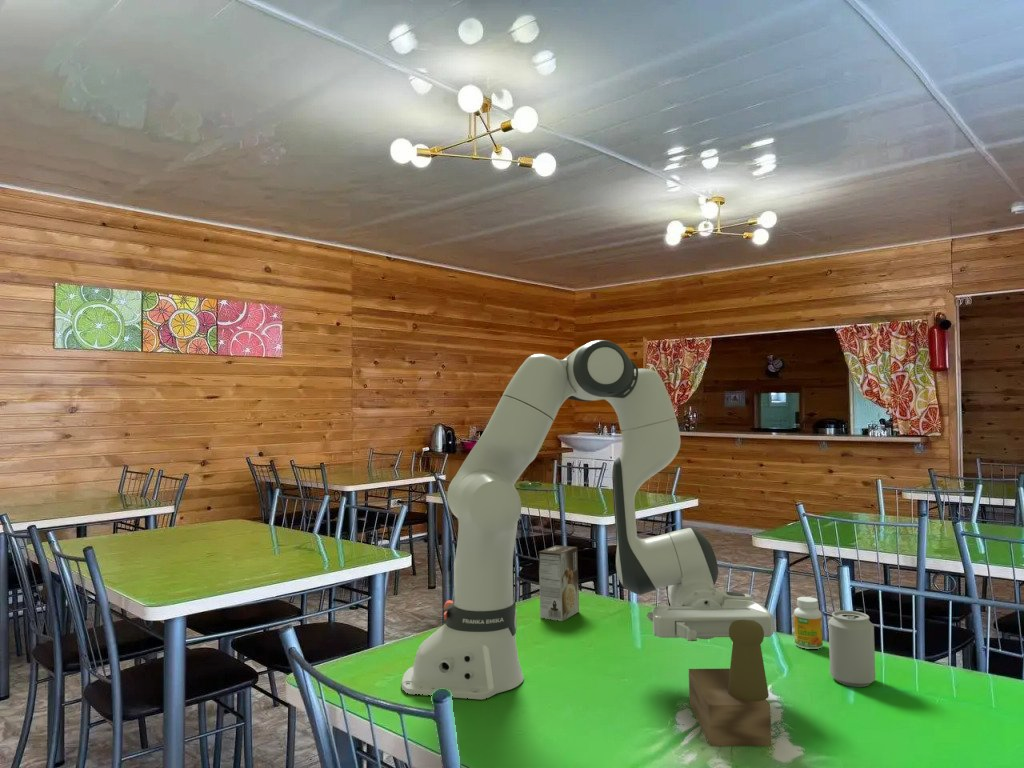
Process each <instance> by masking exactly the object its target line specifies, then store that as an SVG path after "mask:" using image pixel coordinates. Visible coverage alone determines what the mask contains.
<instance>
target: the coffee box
mask: <svg viewBox="0 0 1024 768" xmlns="http://www.w3.org/2000/svg"><path fill="white" fill-rule="evenodd" d="M578 554H579V553H578V546H570V545H569V546H568V545H567V546H566V545H553V546H551V547H547V548H545V549H543V550H539V551H538V575H539V576H538V577H539V581H538V583H539V611H540V612H539V614H540V618H541V619H543V618H545V620H550V619H551V620H550V621H557V620H558V622H564V621H566V620H567V619H569V618H571V617H573V616H574V615H575V614H577V613H579V612H580V594H579V592H580V591H579V590H580V589H579V587H580V586H579V561H578Z"/></svg>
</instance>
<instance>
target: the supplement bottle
mask: <svg viewBox="0 0 1024 768" xmlns="http://www.w3.org/2000/svg"><path fill="white" fill-rule="evenodd" d="M796 601H797V602H796V604H797V606H798V607H796V608H795V609H794V612H793V618H794V619H793V622H794V625H793V627H794V630H793V631H794V644H796V645H797V646H799V647H802V648H809V649H818V648H821V647H822V646H823V645H824V644H823V643H824V642H823V614H822V611H821V610H819V609H818V608H819V600H818V599H817V598H815V597H810V596H799V597H797V598H796ZM795 636H797V637H795ZM796 645H795V646H796ZM797 646H796V647H797ZM799 647H798V648H799ZM802 648H801V649H802ZM822 648H823V647H822ZM822 648H821V649H822ZM818 650H819V649H818Z"/></svg>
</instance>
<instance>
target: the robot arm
mask: <svg viewBox="0 0 1024 768" xmlns="http://www.w3.org/2000/svg"><path fill="white" fill-rule="evenodd" d="M566 400H572V401H573V400H574V401H578V402H584V403H585V402H587V403H588V402H592V401H601V400H605V401H606V402H608V403H609V404H610V405H611V407H612V408H613V409H614V412H615V414H616V415H617V419H618V420H617V421H618V425H619V429H620V434H621V440H622V441H621V442H622V443H621V444H622V445H621V449H620V454H619V457H617V458H616V459H615V460H614V461H613V464H612V475H611V477H612V478H611V479H612V480H611V481H612V482H611V483H612V499H613V500H612V501H613V514H614V525H615V539H616V540H615V541H616V553H615V569H616V574H617V577H618V581H619V582H620V584H621V586H622V587H623V588H625V589H626V590H628V591H629V592H630V593H633V594H636V595H639V596H642V595H645V594H647V593H651V592H654V591H656V590H658V589H661V588H665V587H666V588H667V598H668V602H669V604H670V605H661V606H655V607H654V608H653V609H652V611H651V612H650V611H649V612H647V614H646V618H647V620H648V621H650V622H652V632H653V635H654V636H656V637H658V638H660V639H661V638H662V639H663V638H665V639H667V638H668V639H669V638H673V639H674V638H682V639H685V640H686V641H687V642H697V641H698V639H699V640H711V639H714V638H730V636H729V627H730V625H731V623H732V622H734V621H736V620H752V621H755V622H757V623H759V624H760V625H761V626H762V628H763V630H764V638H770V637H772V636H773V635H774V631H775V629H774V628H775V627H774V626H775V624H774V617H773V616H774V615H772V612H770V610H768V609H767V608H766V607H765V606H763V605H762V604H761V603H759V602H757V601H754V600H753V597H752V595H750V594H748V593H742V592H733V591H726V590H722V589H719V588H715V587H714V586H715V585H716V583H717V580H718V576H719V567H718V561H717V558H716V555H715V551H714V549H713V546H712V544H711V543H710V541H709V540H708V539H707V537H706V536H705V535H704V534H703V533H702V532H700V531H699V530H697V529H696V528H693V527H687V528H683V529H678V530H674V531H673V530H672V531H670V532H667V533H664V534H663V533H662V534H660V535H659V534H658V535H654V536H649V537H646V538H640V537H638V532H637V519H636V517H637V516H636V506H635V501H636V500H635V499H636V494H637V492H638V491H639V489H640V488H641V486H642V485H643V484H644V483H645V482H647V481H648V480H649V479H650V478H652V477H653V476H655V475H656V474H658V473H659V472H661V471H662V470H664V469H665V468H667V466H669V465H670V464H671V463H672V462H673V461H674V459H675V458H676V457H677V455H678V453H679V451H680V448H681V432H680V428H679V423H678V420H677V419H678V418H676V417H677V415H676V412H675V408H674V406H673V402H672V399H671V397H670V395H669V392H668V389H667V388H666V386H665V383H664V380H663V379H662V377H661V375H660V374H659V373H657V371H655V370H653V369H649V368H642V367H641V368H639V367H638V366H637V365H636V363H635V362H633V361H632V359H631V358H630V357H629V356H628V354H627V352H625V350H624V349H622V347H621V346H620V345H618V344H617V343H615V342H612V341H610V340H606V339H605V340H604V339H597V340H592V341H589V342H587V343H586V344H583V345H581V346H579V347H578V348H576V349H574V350H573V351H572V352H571V353H570V354H568V355H567V356H566V357H564V358H562V359H557V358H556V357H553V356H552V355H548V354H544V353H534V354H532V355H530V356H528V357H527V358H526V359H525V360H524V361H523V363H522V364H521V365H520V366H519V368H518V369H517V371H516V372H515V373H514V375H513V377H512V378H511V379H510V381H509V382H508V384H507V386H506V388H505V389H504V391H503V393H502V396H501V397H500V399H499V401H498V403H497V405H496V407H495V409H494V411H493V413H492V414H491V417H490V419H489V421H488V423H487V424H486V427H485V429H484V430H483V432H482V434H481V436H480V437H479V439H478V440H477V442H475V444H474V446H473V447H472V448H471V450H470V452H469V453H468V455H467V456H466V458H465V459H464V461H463V462H462V464H461V466H460V467H459V469H458V470H457V473H456V474H455V475H454V477H453V478H452V480H451V481H450V483H449V485H448V487H447V496H446V497H447V504H448V508H449V509H450V512H451V513H452V514H453V515H454V517H455V518H456V519H457V521H458V529H457V530H458V531H457V543H456V551H455V557H454V559H453V561H454V562H453V586H454V587H453V594H454V597H453V598H454V599H453V600H454V601H453V600H451V599H449V600H448V599H447V601H445V603H444V605H443V625H441V627H439V628H438V629H437V630H434V632H433V633H432V634H430V635H429V636H428V637H426V638H425V639H424V640H423V641H422V642H421V644H420V645H419V646H418V648H417V651H416V654H415V657H414V662H413V665H412V666H410V667H409V668H407V670H406V671H405V672H404V673H403V676H402V679H401V689H402V691H403V690H404V691H405V692H406V693H405V692H404V691H403V692H404V693H405V694H407V693H408V695H415V694H417V695H416V696H418V694H420V695H419V696H428V695H429V694H430V697H432V696H431V694H432V693H433V692H434V691H435V690H437V689H440V688H445V689H448V690H450V691H451V693H452V695H453V697H452V698H455V699H467V698H468V699H470V700H487V699H489V698H491V697H493V696H495V695H496V694H499V693H503V692H507V691H509V690H512V689H515V688H517V687H519V686H520V685H521V684H522V683H523V681H524V674H523V671H522V668H521V663H520V659H519V655H518V648H517V640H516V634H517V630H518V629H517V624H518V623H517V620H518V619H517V615H518V614H517V608H516V602H515V601H514V574H513V573H514V569H513V568H514V567H513V566H514V565H513V564H514V552H515V546H516V540H517V539H516V538H517V532H518V531H517V530H518V522H519V519H520V516H521V513H522V499H521V497H520V494H519V492H518V490H517V488H516V487H515V485H516V483H517V481H518V480H519V479H520V477H521V475H522V474H523V473H524V471H525V470H526V469H527V468H528V466H529V465H530V464H531V463H532V462H533V461H534V460H535V459H536V457H537V456H538V453H539V451H540V450H541V448H542V445H543V443H544V441H545V439H546V437H547V436H548V433H549V431H550V430H551V427H552V426H553V423H554V422H555V419H556V417H557V416H558V412H559V410H560V409H561V407H562V405H563V404H564V403H565V402H566ZM422 694H423V695H422ZM427 694H428V695H427ZM486 698H487V699H486Z"/></svg>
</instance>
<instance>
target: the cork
mask: <svg viewBox="0 0 1024 768" xmlns="http://www.w3.org/2000/svg"><path fill="white" fill-rule="evenodd" d="M729 636H730V637H729V639H730V640H731V641H732V648H731V657H730V667H729V669H730V674H729V684H728V694H729V695H731V696H732V697H734V698H736V699H740V700H745V701H761V700H765V699H766V700H767V699H768V698H769V689H768V683H767V676H766V671H765V670H766V669H765V663H764V659H763V651H762V643H763V642H764V638H765V637H764V630H763V628H762V626H761V625H760V624H759V623H757V622H755V621H752V620H736V621H734V622H732V623H731V625H730V627H729Z"/></svg>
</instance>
